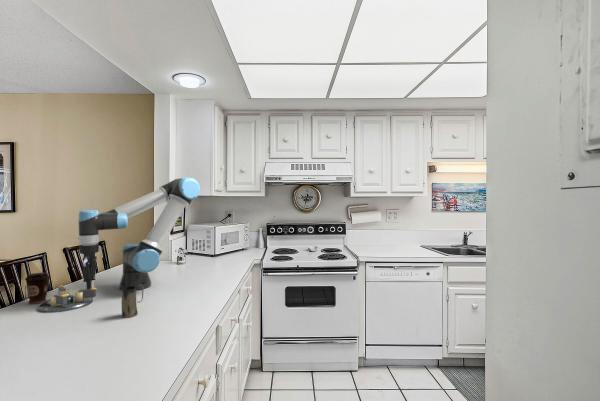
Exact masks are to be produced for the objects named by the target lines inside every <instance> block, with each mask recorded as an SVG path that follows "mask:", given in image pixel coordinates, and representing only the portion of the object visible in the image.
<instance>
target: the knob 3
mask: <svg viewBox="0 0 600 401" xmlns="http://www.w3.org/2000/svg"><path fill="white" fill-rule="evenodd" d="M74 296H75V302H81V301H84V298H91V297H93V298H96V297H97V287H93V288H92V289H86V288H85V289H79V290H78V291H75V292H74Z"/></svg>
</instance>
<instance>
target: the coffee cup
mask: <svg viewBox="0 0 600 401" xmlns="http://www.w3.org/2000/svg"><path fill="white" fill-rule="evenodd" d="M49 279H50V275H49V274H48V272H36V273H29V274H27V276H26V278H25V279H24V280H25V281H26V286H25V287H26V291H27V297H28V299H29V300H28V304H30V305H31V304H33V305H34V304H42V303H45V302H47V294H48V287H49V286H48V285H49V284H48V283H49Z"/></svg>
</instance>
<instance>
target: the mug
mask: <svg viewBox="0 0 600 401" xmlns="http://www.w3.org/2000/svg"><path fill="white" fill-rule="evenodd" d="M137 286H142V289H141V290H142V291H141V292H142V294H141V300H140V301H137V290H136V288H137ZM137 286H136V287H135V286H131V287H125V288H123V290H121V316H122V318H124V319H130V318H134V317H137V316H138V306H137V305H138V304H137V303H142V301H143V298H144V289H143V285H137Z"/></svg>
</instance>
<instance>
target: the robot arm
mask: <svg viewBox="0 0 600 401" xmlns="http://www.w3.org/2000/svg"><path fill="white" fill-rule="evenodd" d="M200 194H201V186H200V183H199V182H198V181H197V179H195V178H192V177H188V176H187V177H181V178H176V179H173V180H171V181H170V182H167V183H166V184H163V185H161V186H159V187H158V189H157V190H154V191H152V192H150V193H147V194H145V195H143V196H140V197H138V198H135V199H133V200H132V201H128V202H126V203H124V204H122V205H120V206H117V207H115V208H113V209H110V210H107V211H105V212H101V213H99V210H97V209H83V210H79V212H78V237H77V240H78V242H79V243H78V244H79V246H78V251H79V252H78V253H79V254H82V255H83V257H82V262H81V261H80V262H81V263H80V265H81V269H82V270H81V271H82V277H83V283H85V289H92V288H94V281H96V268H97V259H98V256H96V255H95V254H96V253H99V252H100V251H99V250H100V244H99V242H100V240H99V237H100V235H99V234H100V233H99V231H106V230H107V231H110V230H122V229H127V228H128V224H129V220H128V219H130V218H132V217H135V216H137V215H139V214H141V213H143V212H145V211H148V210H150V209H153V208H154V207H156V206H159V205H161V204H163V203H166V205H165V207H164V209H162V212H161V214H160V215H159V217H158V218H157V220H156V222H155V224H154V225H153V226H152V229H151V230H150V231H149V233H148V235H147V236H146V238H145V239H143V240H140V241H139V243H135V244H134V243H133V244H125V245H123V246H122V250H121V252H122V275H121V278H120V282H119V286H118V287H119V288H118V289H119V290H120V291H122V290H123V288H125V287H131V286H135V287H136V286H137V285H143V290H144V289H147V288H148V289H149V287H151V286H152V280H151V278H150V275H149V273H150V272H153V271H155V270H156V269H157V267H159V264H160V262H161V255H162V253H163V245H164V244H165V242H166V240H167V239H168V236H169V235H170V233H171V232H172V230H173V228H174V226H175V225H176V223H177V221H178V219H179V218H180V216H181V215H182V212H183V210H184V209H185V208H186V207H189V206H190V205H191V203H192V201H193V200H195V199H196V198H198V197H199V195H200ZM139 290H142V286H137V288H136V291H139Z"/></svg>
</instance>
